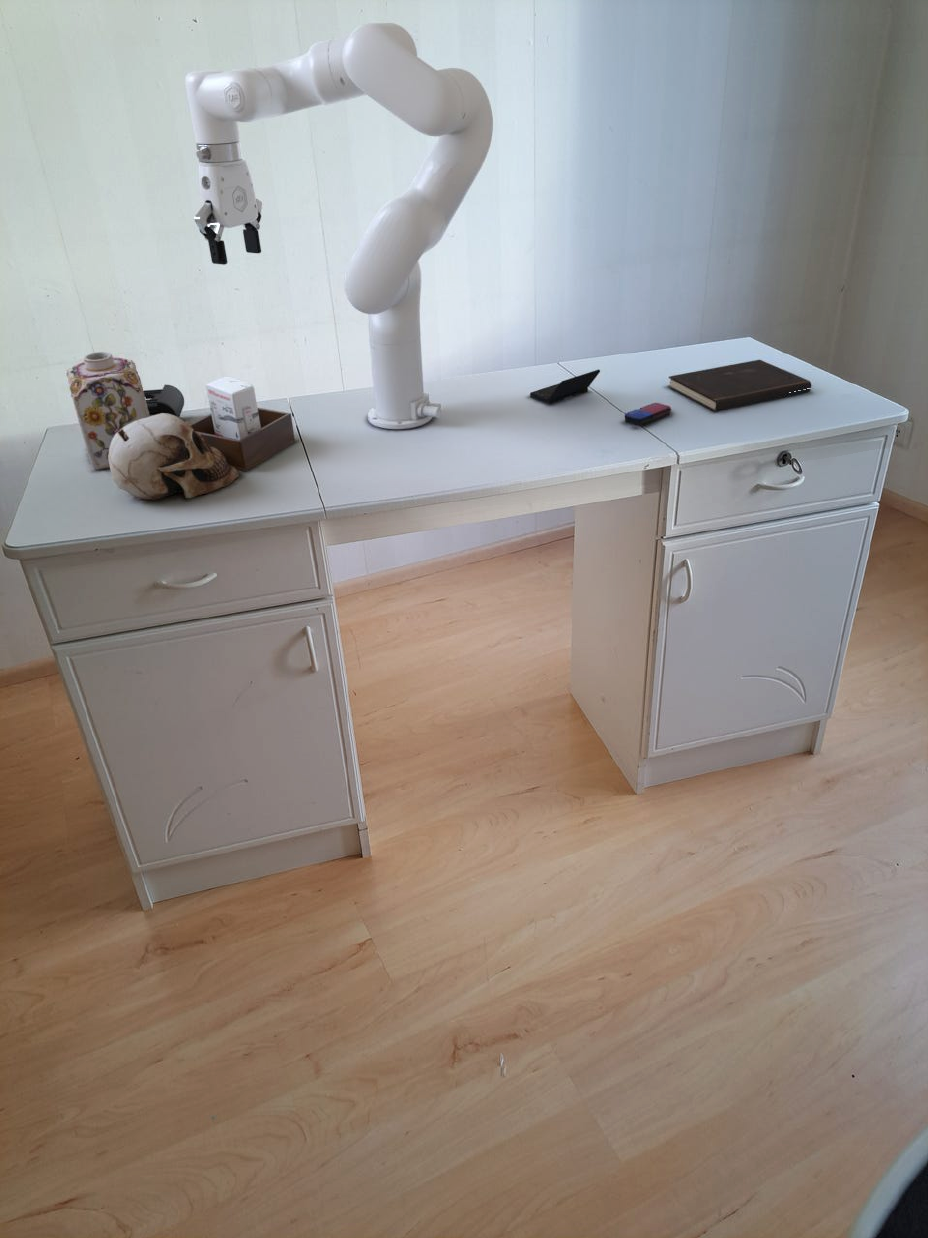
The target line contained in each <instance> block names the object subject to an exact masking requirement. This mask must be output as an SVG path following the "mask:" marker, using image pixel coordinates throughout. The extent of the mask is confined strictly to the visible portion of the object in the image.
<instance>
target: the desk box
mask: <svg viewBox="0 0 928 1238" xmlns="http://www.w3.org/2000/svg"><path fill="white" fill-rule="evenodd" d="M257 408H258V414H259V420H260V426H261V429H259V430H258V431H256V432H254V433H252V434H250V435H249V436H247V437H245V438H243V439H242V440H237V439H232V438H227V437H222V436H217V435H215V431H214V426H213V420H212V415H211V413H209V414H208V415H206V416H204V417H202V418H200V419H198V420H196V421H194V422H192V423H189V424H190V425H191V427H192V428H193V429H194V430H195V432H196V433H200V434H201V438H204V439H205V441H206V443H207V444H208V445H209V446H210V447H214V448H216V449H218V450H219V451H220V452H221V453H222V454H223V456H224V457H225V459H226V462H227V464H228V465H231V466H232V467H234V468H235V469H236V470H237V471H242V472H248V471H250V470H251V469H253V468H254V467H256V466H258V465H260V464H261V463H262V462H264V461H266V460H268V459H269V458H271V457H273V456H274V455H276V454H278V453H279V452H281V451H282V450H285V448H287V447H289V446H290V445H292V444H294V443H295V442H296V439H295V431H294V425H293V418H292V413H291V412H285V411H280V410H275V409H274V410H273V409H268V408H263V407H257Z"/></svg>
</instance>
